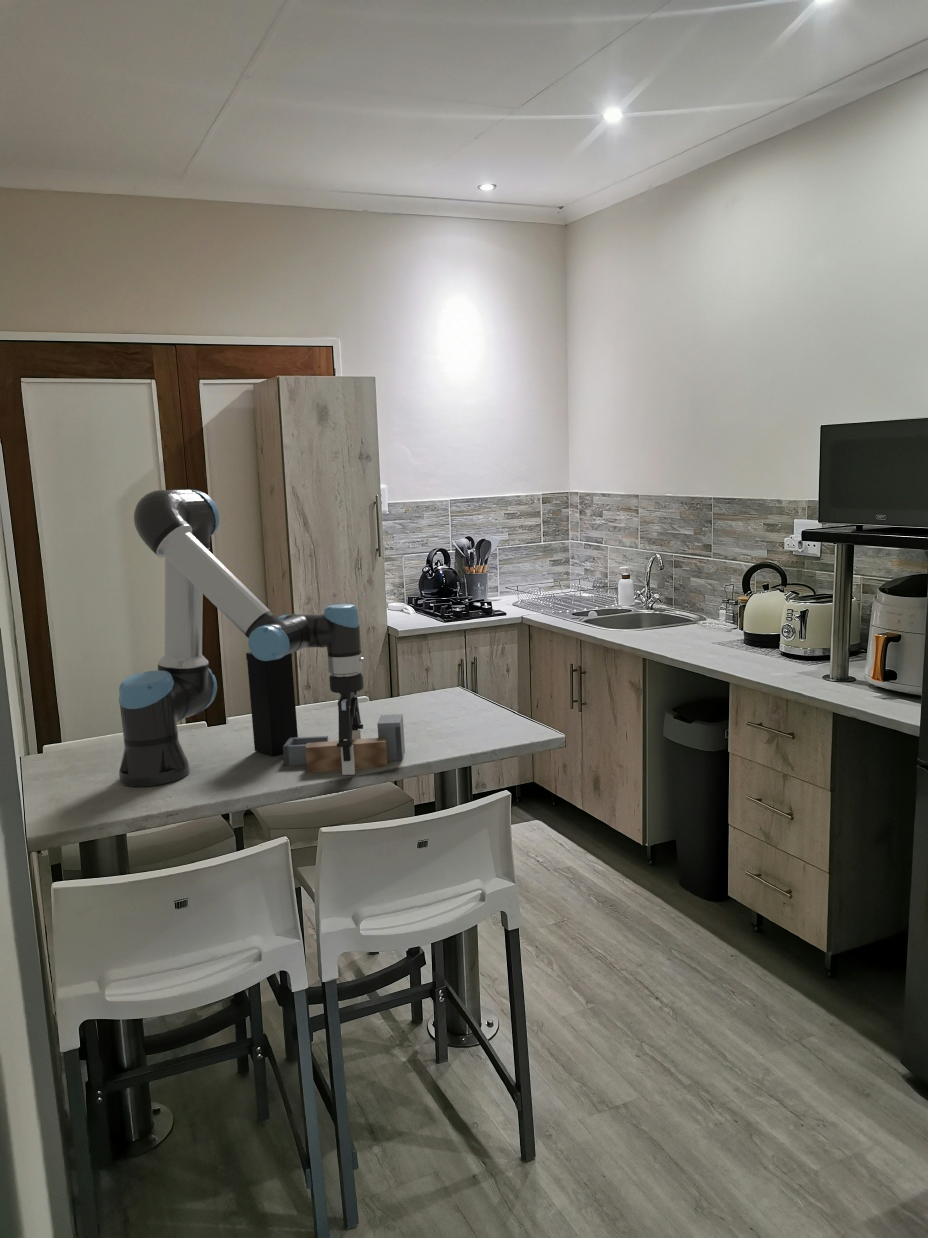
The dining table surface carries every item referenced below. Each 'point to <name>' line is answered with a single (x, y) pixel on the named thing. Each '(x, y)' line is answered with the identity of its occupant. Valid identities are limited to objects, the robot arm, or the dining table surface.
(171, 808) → the dining table surface
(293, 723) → the black tall block
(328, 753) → the brown wooden block
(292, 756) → the end cap
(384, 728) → the end cap
